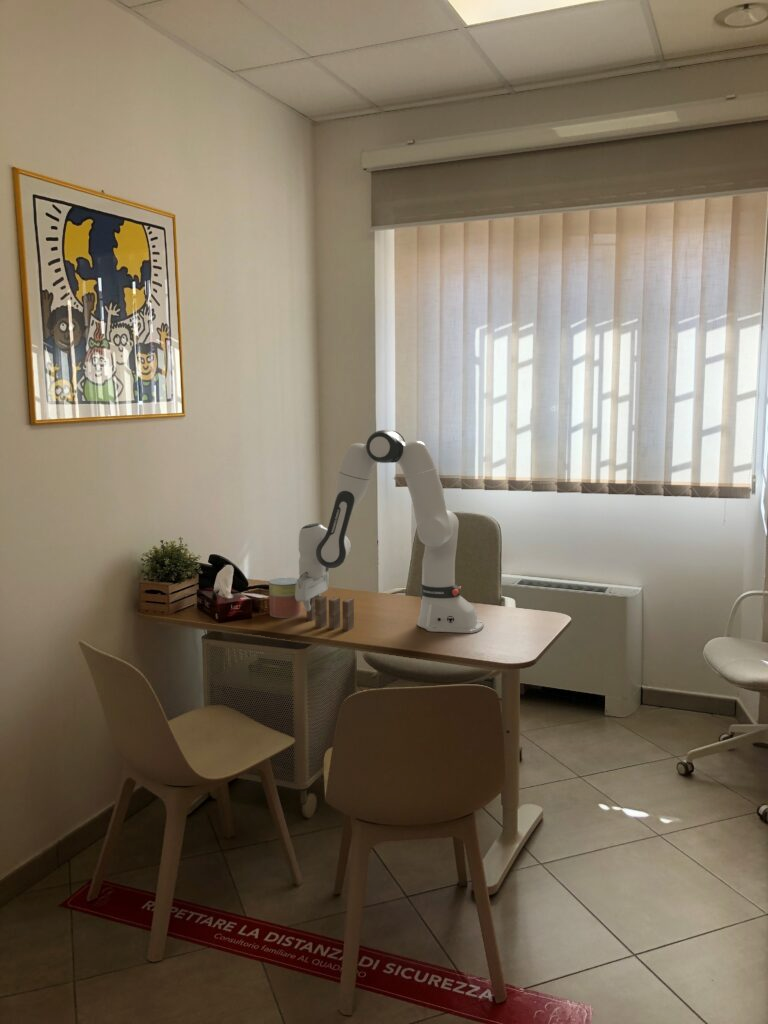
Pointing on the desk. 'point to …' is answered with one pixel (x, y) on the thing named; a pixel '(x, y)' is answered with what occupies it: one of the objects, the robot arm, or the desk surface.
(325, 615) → the domino
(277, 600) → the canned food
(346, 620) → the domino
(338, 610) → the domino
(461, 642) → the desk surface
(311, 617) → the domino
